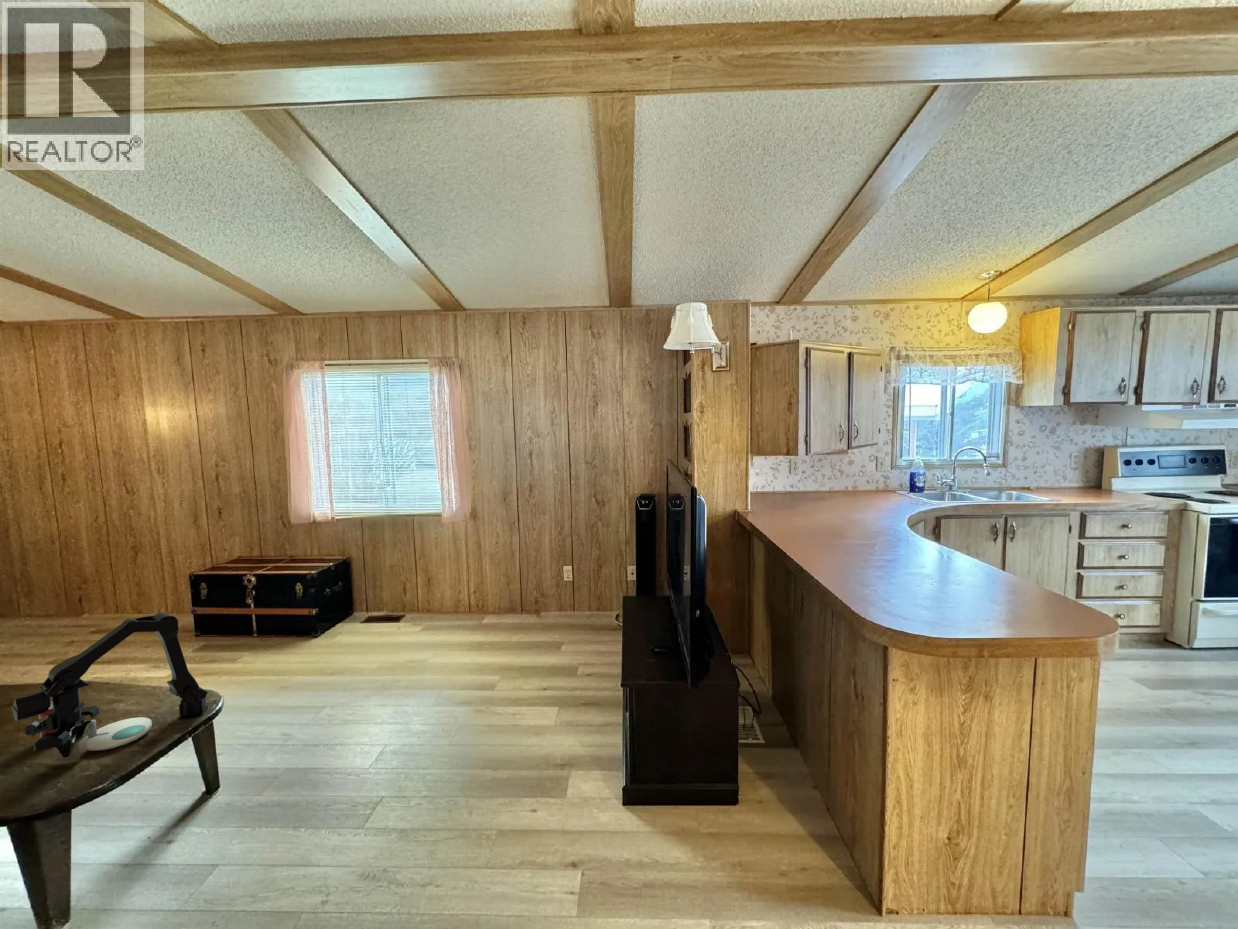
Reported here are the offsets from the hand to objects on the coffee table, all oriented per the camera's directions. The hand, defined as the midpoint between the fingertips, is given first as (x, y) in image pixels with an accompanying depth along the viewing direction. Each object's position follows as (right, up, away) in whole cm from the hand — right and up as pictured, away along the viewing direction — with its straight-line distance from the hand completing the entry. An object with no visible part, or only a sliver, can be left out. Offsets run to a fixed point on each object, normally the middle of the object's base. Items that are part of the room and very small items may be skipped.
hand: (70, 753), depth 154 cm
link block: (0, -1, 0) cm, 1 cm away
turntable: (+3, -1, +12) cm, 12 cm away
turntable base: (+1, -2, +11) cm, 12 cm away
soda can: (-17, -2, +12) cm, 21 cm away
